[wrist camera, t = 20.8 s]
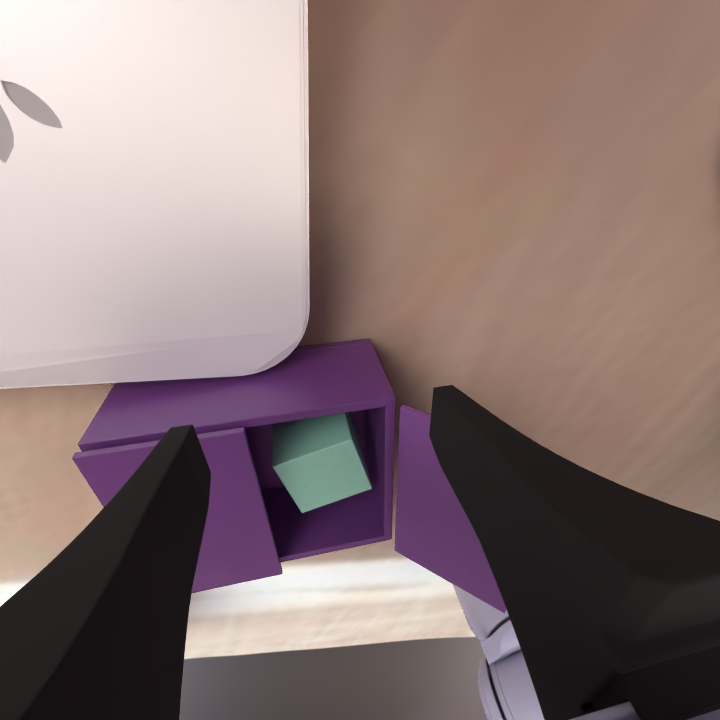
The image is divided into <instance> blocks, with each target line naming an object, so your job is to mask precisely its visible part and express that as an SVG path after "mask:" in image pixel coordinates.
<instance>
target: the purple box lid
mask: <svg viewBox="0 0 720 720" xmlns="http://www.w3.org/2000/svg"><path fill="white" fill-rule="evenodd" d="M430 421H431V415H430V414H428V413H425V412H422V411H419V410H417V409H414V408H411V407H408V406H406V405H402V407H401V408H400V425H399V451H398V476H397V502H396V527H395V551H396V552H398V553H400V554H402V555H403V556H405V557H407V558H409V559H410V560H412V561H414V562H416V563H417V564H419V565H421V566H423V567H424V568H426V569H428V570H430V571H431V572H433V573H435V574H437V575H438V576H440V577H442V578H443V579H445V580H447V581H449V582H450V583H452V584H454V585H456V586H457V587H459V588H461V589H463V590H464V591H466V592H468V593H470V594H471V595H473V596H475V597H477V598H478V599H480V600H482V601H484V602H485V603H487V604H489V605H491V606H492V607H494V608H496V609H497V610H499V611H501V612H503V613H505V612H506V610H507V609H506V607H505V604H504V601H503V599H502V596H501V594H500V591H499V588H498V586H497V583H496V581H495V578H494V576H493V573H492V571H491V568H490V566H489V563H488V561H487V558H486V556H485V554H484V551H483V549H482V546H481V544H480V541H479V539H478V537H477V535H476V533H475V531H474V529H473V527H472V525H471V523H470V521H469V519H468V517H467V515H466V514H465V512H464V510H463V508H462V506H461V504H460V502H459V500H458V498H457V497H456V495H455V493H454V491H453V489H452V487H451V485H450V483H449V481H448V479H447V477H446V476H445V474H444V472H443V470H442V468H441V466H440V464H439V461H438V459H437V456H436V453H435V451H434V448H433V445H432V442H431V440H430V437H429V431H430Z"/></svg>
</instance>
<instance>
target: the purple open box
mask: <svg viewBox="0 0 720 720" xmlns="http://www.w3.org/2000/svg"><path fill="white" fill-rule="evenodd" d="M347 412H349V415H350V417H351V420H352V422H353V425H354V427H355V430H356V432H357V435H358V438H359V441H360V445H361V449H362V452H363V456H364V460H365V463H366V467H367V471H368V474H369V478H370V482H371V485H372V489H369V490H367V491H364V492H361V493H358V494H355V495H352V496H350V497H347V498H344V499H341V500H338V501H335V502H333V503H330V504H327V505H324V506H321V507H318V508H315V509H313V510H310V511H307V512H304V513H302V512H301V511H300V509H299V508H298V506H297V505H296V503H295V501H294V500H293V498H292V497H291V495H290V494H289V492H288V491H287V489H286V487H285V486H284V484H283V483H282V481H281V480H280V478H279V476H278V475H277V473H276V472H275V470H274V469H273V467H272V465H273V424H274V423H281V422H287V421H294V420H301V419H307V418H314V417H320V416H327V415H334V414H340V413H347ZM395 413H396V396H395V394H394V392H393V389H392V387H391V385H390V383H389V381H388V378H387V376H386V374H385V372H384V370H383V367H382V365H381V363H380V361H379V358H378V356H377V354H376V352H375V350H374V347H373V345H372V343H371V341H370V339H362V340H354V341H346V342H337V343H329V344H321V345H313V346H305V347H297V348H295V349H294V350H293V351H292V352H291V354H290V355H288V356H287V357H286V358H285V359H284V360H282V361H281V362H279V363H278V364H277V365H275V366H273V367H271V368H269V369H267V370H264V371H261V372H258V373H255V374H250V375H245V376H232V377H213V378H194V379H176V380H157V381H138V382H120V383H115V385H114V386H113V388H112V389H111V391H110V393H109V394H108V396H107V398H106V399H105V401H104V402H103V404H102V406H101V407H100V409H99V411H98V412H97V414H96V415H95V417H94V419H93V420H92V422H91V424H90V425H89V427H88V429H87V430H86V432H85V433H84V435H83V437H82V438H81V440H80V442H79V443H78V445H79V447H80V449H81V450H82V452H77V453H75V454H74V456H73V457H72V459H73V460H74V462H75V464H76V465H77V467H78V468H79V470H80V471H81V473H82V474H83V476H84V477H85V479H86V481H87V482H88V484H89V485H90V487H91V488H92V490H93V491H94V493H95V495H96V496H97V498H98V499H99V501H100V502H101V504H102V505H103V507H105V506H106V505H107V504H108V503H109V502H110V500H111V499H112V498H113V497H114V496H115V495H116V494H117V492H118V491H119V490H120V489H121V488H122V487H123V485H124V484H125V483H126V482H127V481H128V479H129V478H130V477H131V476H132V475H133V473H134V472H135V471H136V470H137V469H138V467H139V466H140V465H141V464H142V462H143V461H144V460H145V459H146V457H147V456H148V455H149V454H150V452H151V451H152V450H153V448H154V447H155V446H156V445H157V443H158V442H159V441H160V440H161V438H162V437H163V436H164V435H165V434H166V432H167V431H168V430H169V429H170V428H171V427H178V426H185V425H191V424H193V426H194V428H195V431H196V434H197V436H198V439H199V442H200V444H201V447H202V450H203V452H204V455H205V458H206V461H207V463H208V466H209V469H210V471H211V483H210V497H209V507H208V513H207V518H206V523H205V528H204V533H203V538H202V543H201V548H200V552H199V557H198V562H197V567H196V572H195V577H194V581H193V586H192V592H191V593H195V592H199V591H204V590H209V589H214V588H218V587H223V586H228V585H232V584H237V583H242V582H247V581H251V580H256V579H261V578H265V577H270V576H275V575H280V574H282V567H281V563H280V562H285V561H290V560H294V559H299V558H304V557H309V556H314V555H318V554H323V553H328V552H333V551H338V550H343V549H347V548H352V547H357V546H362V545H367V544H371V543H376V542H381V541H386V540H391V539H392V511H393V478H394V445H395Z"/></svg>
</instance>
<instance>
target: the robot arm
mask: <svg viewBox="0 0 720 720" xmlns="http://www.w3.org/2000/svg"><path fill="white" fill-rule="evenodd" d="M429 437H430V440H431V442H432V445H433V448H434V451H435V453H436V456H437V459H438V461H439V464H440V466H441V468H442V470H443V472H444V474H445V476H446V477H447V479H448V481H449V483H450V485H451V487H452V489H453V491H454V493H455V495H456V497H457V498H458V500H459V502H460V504H461V506H462V508H463V510H464V512H465V514H466V515H467V517H468V519H469V521H470V523H471V525H472V527H473V529H474V531H475V533H476V535H477V537H478V539H479V541H480V544H481V546H482V549H483V551H484V554H485V556H486V558H487V561H488V563H489V566H490V568H491V571H492V573H493V576H494V578H495V581H496V583H497V586H498V588H499V591H500V594H501V596H502V599H503V601H504V604H505V607H506V609H507V610H506V612H505V613H503V612H501V611H499V610H497V609H496V608H494V607H492V606H491V605H489V604H487V603H485V602H484V601H482V600H480V599H478V598H477V597H475V596H473V595H471V594H470V593H468V592H466V591H464V590H463V589H461V588H459V587H457V586H456V585H454V584H453V586H454V589H455V591H456V594H457V596H458V599H459V602H460V604H461V607H462V609H463V612H464V614H465V617H466V619H467V622H468V624H469V626H470V628H471V630H472V632H473V633H474V634H475V636H476V637H477V638H478V639H479V640H480V641H481V643H480V644H481V646H482V649H483V651H484V654H485V656H486V657H485V658H483V659H482V660H481V661H480V665H479V674H478V686H479V692H480V696H481V699H482V703H483V706H484V710H485V713H486V716H487V719H488V720H720V521H718V520H715V519H712V518H709V517H706V516H703V515H700V514H697V513H694V512H690V511H687V510H684V509H681V508H678V507H676V506H673V505H670V504H667V503H665V502H662V501H659V500H657V499H654V498H652V497H649V496H646V495H644V494H641V493H639V492H636V491H634V490H631V489H629V488H626V487H624V486H622V485H619V484H617V483H615V482H613V481H610V480H608V479H606V478H604V477H602V476H599V475H597V474H595V473H593V472H591V471H589V470H586V469H584V468H582V467H580V466H578V465H576V464H574V463H572V462H571V461H569V460H567V459H565V458H563V457H561V456H559V455H557V454H555V453H554V452H552V451H550V450H548V449H546V448H545V447H543V446H541V445H540V444H538V443H536V442H535V441H533V440H531V439H530V438H528V437H527V436H525V435H523V434H522V433H520V432H519V431H517V430H515V429H514V428H512V427H511V426H509V425H508V424H506V423H505V422H503V421H502V420H501V419H499V418H498V417H496V416H495V415H493V414H492V413H490V412H489V411H488V410H486V409H485V408H483V407H482V406H481V405H479V404H478V403H477V402H475V401H474V400H472V399H471V398H470V397H468V396H467V395H466V394H464V393H463V392H461V391H460V390H459V389H457V388H456V387H454V386H453V385H449V386H442V387H436V388H434V389H433V400H432V410H431V421H430V431H429ZM210 483H211V471H210V469H209V466H208V463H207V461H206V458H205V455H204V452H203V450H202V447H201V444H200V442H199V439H198V436H197V434H196V431H195V428H194V426H193V424H191V425H185V426H178V427H171V428H170V429H169V430H168V431H167V432H166V434H165V435H164V436H163V437H162V438H161V440H160V441H159V442H158V443H157V445H156V446H155V447H154V448H153V450H152V451H151V452H150V454H149V455H148V456H147V457H146V459H145V460H144V461H143V462H142V464H141V465H140V466H139V467H138V469H137V470H136V471H135V472H134V473H133V475H132V476H131V477H130V478H129V479H128V481H127V482H126V483H125V484H124V485H123V487H122V488H121V489H120V490H119V491H118V492H117V494H116V495H115V496H114V497H113V498H112V499H111V500H110V502H109V503H108V504H107V505H106V506H105V507H104V508H103V509H102V510H101V511H100V513H99V514H98V515H97V516H96V517H95V518H94V519H93V520H92V521H91V523H90V524H89V525H88V526H87V527H86V528H85V529H84V530H83V531H82V532H81V533H80V534H79V535H78V536H77V537H76V538H75V539H74V540H73V541H72V542H71V543H70V544H69V545H68V546H67V547H66V548H65V549H64V550H63V551H62V552H61V553H60V554H59V555H58V556H57V557H56V558H55V559H53V560H52V561H51V562H50V563H49V564H48V565H47V566H46V567H45V568H44V569H43V570H42V571H41V572H40V573H38V574H37V575H36V576H35V577H34V578H33V579H32V580H30V581H29V582H28V583H27V584H26V585H25V586H24V587H22V588H21V589H20V590H19V591H18V592H17V593H16V594H14V595H13V596H12V597H11V598H10V599H9V600H8V601H6V602H5V603H4V604H3V605H2V606H1V607H0V720H179V713H180V698H181V685H182V674H183V661H184V652H185V641H186V632H187V623H188V613H189V604H190V598H191V592H192V586H193V581H194V577H195V572H196V567H197V562H198V557H199V552H200V548H201V543H202V538H203V533H204V528H205V523H206V518H207V513H208V507H209V497H210Z"/></svg>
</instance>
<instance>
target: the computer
mask: <svg viewBox="0 0 720 720" xmlns="http://www.w3.org/2000/svg"><path fill="white" fill-rule="evenodd" d="M309 309H310V300H309V136H308V0H0V389H7V388H26V387H45V386H64V385H82V384H101V383H120V382H138V381H157V380H176V379H194V378H213V377H232V376H245V375H250V374H255V373H258V372H261V371H264V370H267V369H269V368H271V367H273V366H275V365H277V364H278V363H279V362H281V361H282V360H284V359H285V358H286V357H287V356H288V355H290V354H291V352H292V351H293V350H294V349H295V348H296V347H297V345H298V344H299V342H300V340H301V339H302V337H303V335H304V332H305V330H306V327H307V324H308V318H309Z"/></svg>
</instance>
